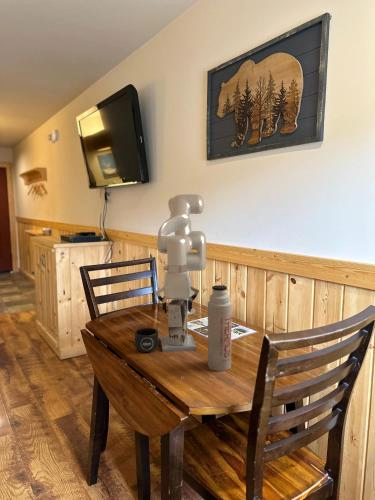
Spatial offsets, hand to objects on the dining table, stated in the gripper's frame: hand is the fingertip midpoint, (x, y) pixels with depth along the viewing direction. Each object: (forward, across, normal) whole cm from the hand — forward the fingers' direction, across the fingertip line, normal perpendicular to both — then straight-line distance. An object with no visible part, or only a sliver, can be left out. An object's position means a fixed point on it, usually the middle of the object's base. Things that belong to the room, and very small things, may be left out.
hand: (177, 311), depth 136 cm
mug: (+14, -12, -1) cm, 19 cm away
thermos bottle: (+14, +12, -21) cm, 28 cm away
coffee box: (+12, 0, 0) cm, 12 cm away
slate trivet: (+14, 0, 0) cm, 14 cm away
